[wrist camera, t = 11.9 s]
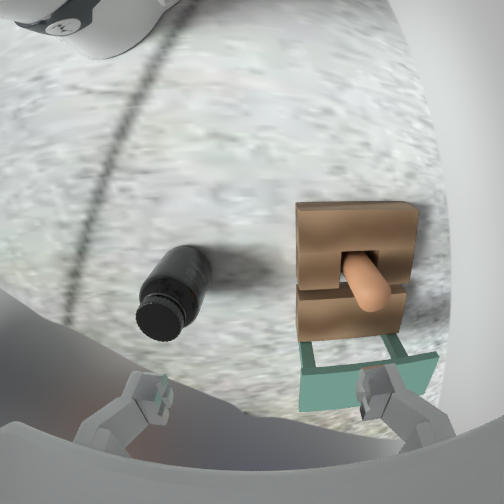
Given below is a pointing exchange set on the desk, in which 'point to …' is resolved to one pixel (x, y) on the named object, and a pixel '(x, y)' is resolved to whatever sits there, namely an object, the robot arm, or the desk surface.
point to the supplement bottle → (173, 293)
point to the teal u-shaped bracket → (357, 376)
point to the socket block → (329, 262)
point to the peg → (365, 281)
